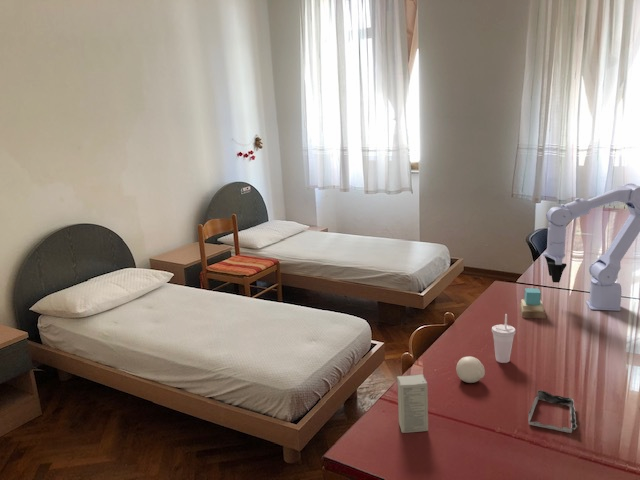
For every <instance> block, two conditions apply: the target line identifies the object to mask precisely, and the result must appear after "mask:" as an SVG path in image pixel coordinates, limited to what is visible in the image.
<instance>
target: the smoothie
mask: <svg viewBox="0 0 640 480" xmlns="http://www.w3.org/2000/svg"><path fill="white" fill-rule="evenodd" d="M491 332H492V337H493V346H494V353H495V354H494V355H495V361H496V362H498V363H502V364H507V363H509V362H510V360H511V354H512V347H513V342H514V336H515V335H516V328H515V327H514V326H512V325H510V324H508V314H507V313H505V314H504V324H496V325H493V326H492V327H491Z"/></svg>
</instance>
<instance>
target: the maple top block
mask: <svg viewBox="0 0 640 480" xmlns="http://www.w3.org/2000/svg"><path fill="white" fill-rule="evenodd" d="M520 302H521V303H520V304H521V306H522V309H523V311H529V312H543V311H544V309H545V307H544V304H543V302H542V299H540V305H526V303H525V298H522V299H521V300H520Z"/></svg>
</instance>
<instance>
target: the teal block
mask: <svg viewBox="0 0 640 480" xmlns="http://www.w3.org/2000/svg"><path fill="white" fill-rule="evenodd" d="M541 296H542V292H541V290H540V288H536V287H535V288H534V287H533V288H531V287H529V288H528V287H527V288H526V287H525V288H524V299H525V303H526V305H540V300H542V299H541Z"/></svg>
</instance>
